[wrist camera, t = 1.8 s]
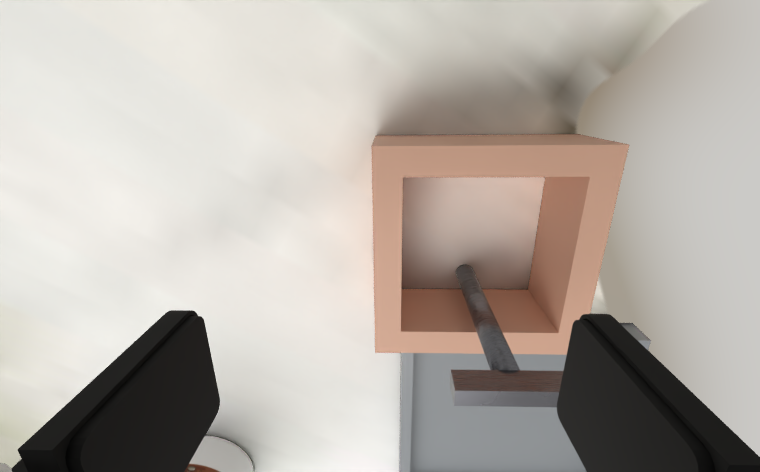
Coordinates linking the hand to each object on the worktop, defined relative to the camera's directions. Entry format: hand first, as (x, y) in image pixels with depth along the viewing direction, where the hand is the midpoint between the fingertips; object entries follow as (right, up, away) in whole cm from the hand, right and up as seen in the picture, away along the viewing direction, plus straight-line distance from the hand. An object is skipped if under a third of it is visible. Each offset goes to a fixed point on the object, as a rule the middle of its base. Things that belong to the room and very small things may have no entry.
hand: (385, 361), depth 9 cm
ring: (+6, +4, +15) cm, 16 cm away
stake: (+6, +1, +16) cm, 17 cm away
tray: (+10, -11, +20) cm, 25 cm away
